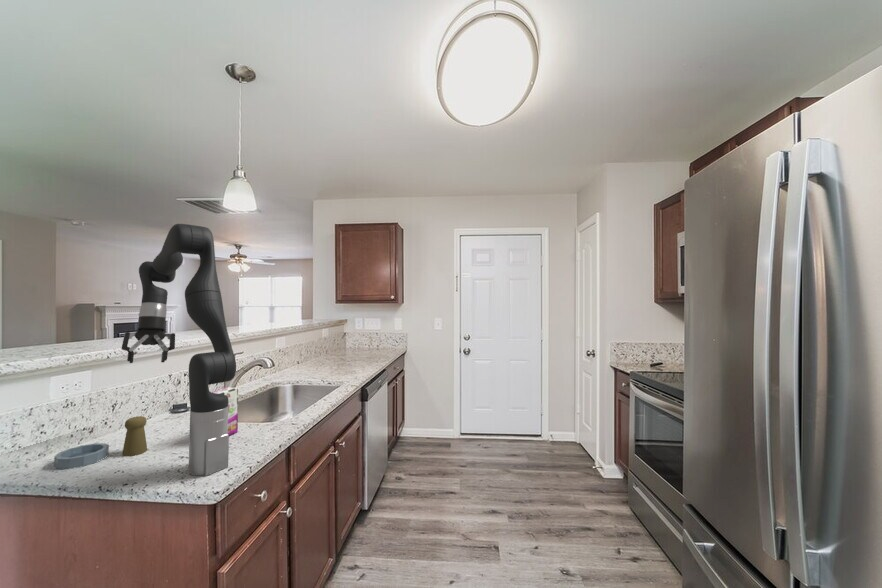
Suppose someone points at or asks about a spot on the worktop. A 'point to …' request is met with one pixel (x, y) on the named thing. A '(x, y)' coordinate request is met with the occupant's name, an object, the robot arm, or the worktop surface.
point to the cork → (135, 436)
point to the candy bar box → (231, 408)
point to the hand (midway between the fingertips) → (147, 362)
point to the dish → (81, 455)
